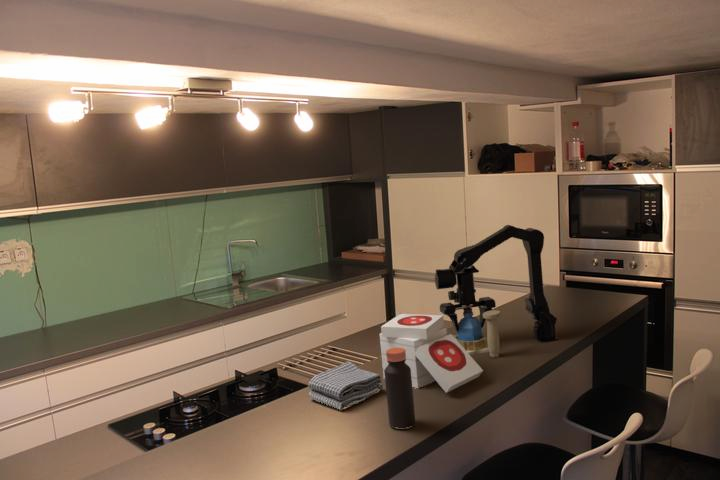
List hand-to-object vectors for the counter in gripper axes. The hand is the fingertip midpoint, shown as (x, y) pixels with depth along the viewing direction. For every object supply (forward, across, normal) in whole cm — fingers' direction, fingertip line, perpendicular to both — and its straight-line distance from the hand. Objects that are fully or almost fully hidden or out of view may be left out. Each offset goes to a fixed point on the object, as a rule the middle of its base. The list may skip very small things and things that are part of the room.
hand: (469, 329), depth 212 cm
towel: (+7, +49, +25) cm, 55 cm away
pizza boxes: (+7, +22, +23) cm, 33 cm away
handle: (+7, -4, +12) cm, 14 cm away
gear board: (+7, 0, 0) cm, 7 cm away
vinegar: (+7, +38, +50) cm, 63 cm away
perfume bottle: (+5, 0, 0) cm, 5 cm away
